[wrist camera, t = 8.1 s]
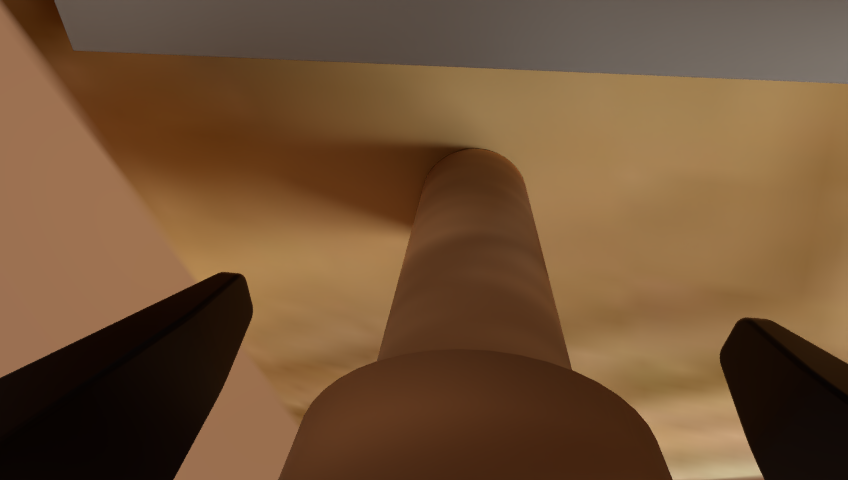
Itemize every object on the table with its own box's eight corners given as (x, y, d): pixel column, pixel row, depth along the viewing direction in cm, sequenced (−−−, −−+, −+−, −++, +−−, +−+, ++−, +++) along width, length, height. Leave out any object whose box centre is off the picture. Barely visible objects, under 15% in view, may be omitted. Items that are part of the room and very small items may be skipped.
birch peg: (566, 127, 11) (856, 566, 3) (537, 267, 13) (641, 729, 5) (398, 118, 11) (181, 478, 3) (399, 255, 13) (280, 670, 5)
